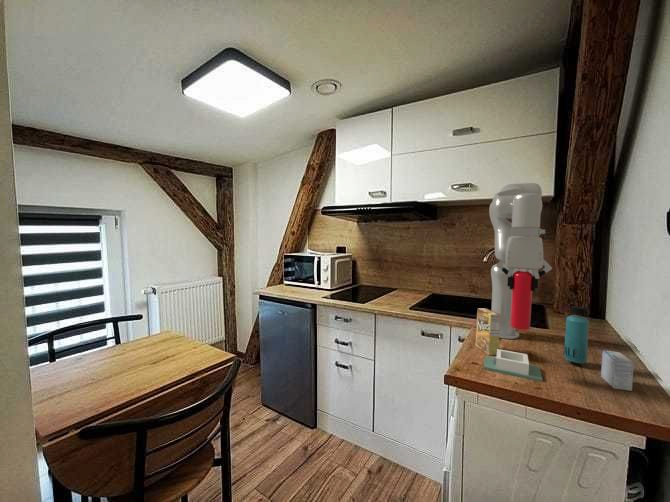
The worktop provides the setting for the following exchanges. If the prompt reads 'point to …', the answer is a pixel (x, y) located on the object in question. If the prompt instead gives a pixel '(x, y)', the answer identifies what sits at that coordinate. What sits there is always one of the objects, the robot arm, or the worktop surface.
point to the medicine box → (617, 370)
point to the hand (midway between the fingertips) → (521, 289)
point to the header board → (512, 365)
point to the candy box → (488, 331)
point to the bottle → (521, 299)
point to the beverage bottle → (576, 336)
